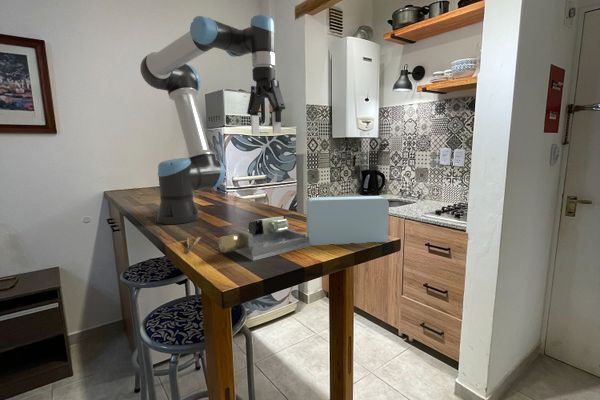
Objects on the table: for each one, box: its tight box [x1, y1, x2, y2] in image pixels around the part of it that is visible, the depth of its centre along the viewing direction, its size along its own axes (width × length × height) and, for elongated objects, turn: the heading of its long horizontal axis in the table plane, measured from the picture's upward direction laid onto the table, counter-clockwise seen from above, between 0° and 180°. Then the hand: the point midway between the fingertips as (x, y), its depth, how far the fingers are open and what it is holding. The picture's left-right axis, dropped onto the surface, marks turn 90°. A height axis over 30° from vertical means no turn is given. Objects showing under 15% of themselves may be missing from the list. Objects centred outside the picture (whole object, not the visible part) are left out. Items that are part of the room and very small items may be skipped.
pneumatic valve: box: [247, 215, 290, 235], centre depth 99 cm, size 6×12×12 cm
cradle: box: [218, 227, 311, 261], centre depth 88 cm, size 23×13×6 cm, turn 128°
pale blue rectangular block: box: [305, 195, 390, 246], centre depth 94 cm, size 23×6×13 cm, turn 95°
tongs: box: [186, 236, 202, 255], centre depth 92 cm, size 4×13×2 cm, turn 14°
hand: (265, 133), depth 111 cm, fingers open, 13 cm apart
